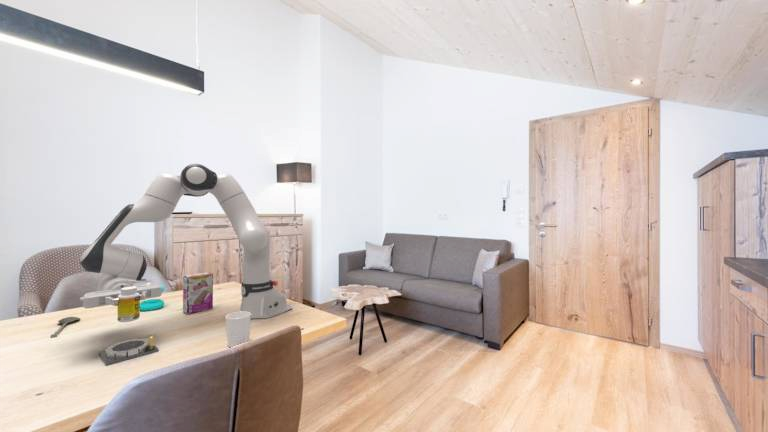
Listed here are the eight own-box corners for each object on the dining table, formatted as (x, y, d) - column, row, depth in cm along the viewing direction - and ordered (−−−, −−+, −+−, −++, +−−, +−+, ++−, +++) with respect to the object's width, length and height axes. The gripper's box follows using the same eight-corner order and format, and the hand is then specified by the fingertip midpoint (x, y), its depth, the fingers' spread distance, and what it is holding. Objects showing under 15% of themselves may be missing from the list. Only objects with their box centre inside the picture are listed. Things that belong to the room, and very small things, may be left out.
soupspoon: (82, 320, 136) (61, 324, 133) (82, 312, 136) (60, 316, 133) (65, 336, 117) (40, 341, 114) (65, 327, 117) (39, 331, 114)
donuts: (148, 284, 155) (169, 284, 155) (148, 305, 155) (169, 305, 155) (131, 289, 145) (154, 289, 145) (132, 311, 145) (154, 311, 145)
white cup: (241, 350, 106) (241, 319, 105) (220, 348, 107) (220, 317, 107) (255, 340, 113) (255, 312, 113) (235, 338, 115) (235, 310, 115)
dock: (148, 341, 112) (147, 327, 112) (158, 351, 105) (158, 336, 104) (98, 353, 103) (98, 338, 103) (106, 365, 95) (105, 349, 95)
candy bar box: (187, 314, 141) (187, 277, 140) (182, 312, 144) (182, 275, 143) (213, 308, 150) (213, 273, 149) (208, 306, 153) (208, 271, 152)
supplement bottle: (137, 321, 102) (137, 289, 102) (114, 323, 99) (114, 290, 99) (141, 316, 107) (141, 285, 107) (120, 318, 104) (120, 286, 104)
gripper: (78, 288, 104) (84, 296, 94) (154, 278, 119) (166, 284, 110) (78, 307, 104) (85, 317, 95) (154, 295, 119) (166, 303, 110)
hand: (129, 299), depth 102 cm, fingers closed on supplement bottle, 5 cm apart
